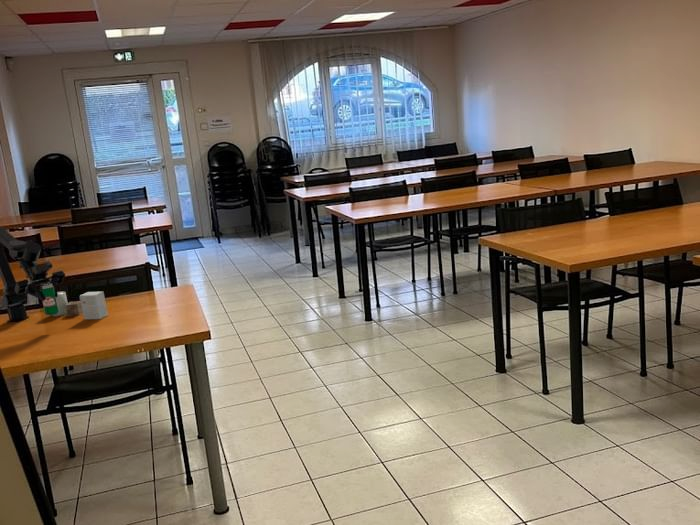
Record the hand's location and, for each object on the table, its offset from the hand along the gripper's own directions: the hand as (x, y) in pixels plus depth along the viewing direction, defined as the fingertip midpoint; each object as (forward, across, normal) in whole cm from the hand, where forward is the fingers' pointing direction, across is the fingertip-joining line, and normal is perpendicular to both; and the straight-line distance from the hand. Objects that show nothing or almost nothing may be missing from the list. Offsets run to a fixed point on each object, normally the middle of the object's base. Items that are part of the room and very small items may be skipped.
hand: (50, 298), depth 258 cm
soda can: (+4, 0, +6) cm, 7 cm away
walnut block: (-1, +16, +20) cm, 26 cm away
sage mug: (-7, +14, +26) cm, 30 cm away
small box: (+9, +17, +10) cm, 22 cm away
